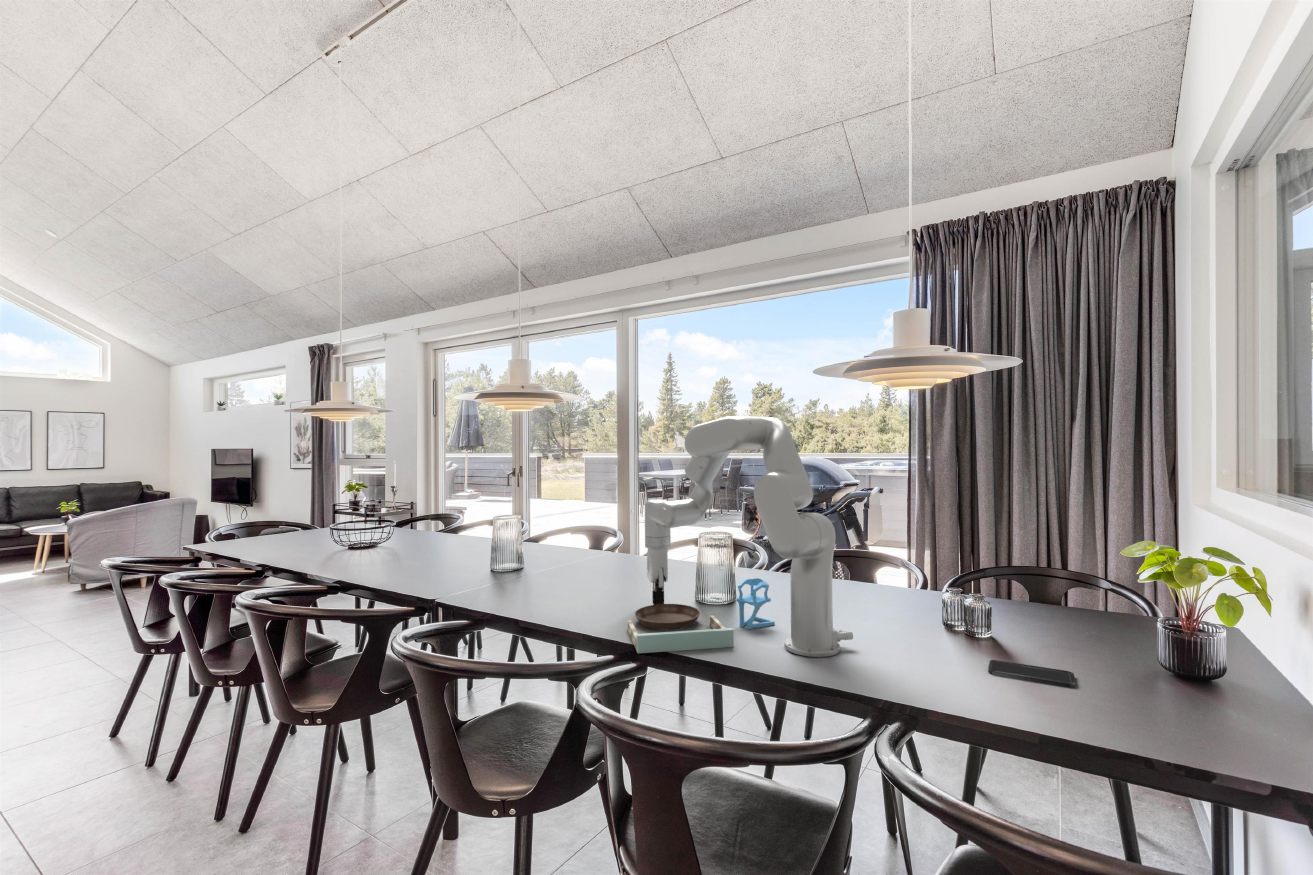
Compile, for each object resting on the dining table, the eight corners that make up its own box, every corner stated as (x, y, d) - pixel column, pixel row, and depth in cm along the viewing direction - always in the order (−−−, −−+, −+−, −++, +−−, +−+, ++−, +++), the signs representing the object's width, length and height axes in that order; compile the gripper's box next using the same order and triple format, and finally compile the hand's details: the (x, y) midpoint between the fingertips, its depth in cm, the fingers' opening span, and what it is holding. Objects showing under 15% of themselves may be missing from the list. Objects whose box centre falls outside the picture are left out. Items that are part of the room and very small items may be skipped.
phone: (1075, 684, 119) (987, 670, 127) (1075, 690, 119) (987, 675, 127) (1073, 671, 125) (990, 658, 133) (1073, 677, 125) (990, 663, 133)
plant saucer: (664, 637, 153) (664, 625, 153) (621, 622, 167) (621, 611, 167) (713, 623, 165) (713, 612, 165) (670, 610, 178) (670, 600, 178)
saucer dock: (627, 630, 159) (627, 614, 159) (713, 624, 163) (713, 609, 163) (637, 653, 141) (637, 635, 141) (733, 646, 145) (733, 629, 145)
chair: (732, 625, 163) (731, 579, 163) (752, 618, 168) (751, 575, 168) (755, 631, 157) (754, 584, 157) (775, 624, 163) (774, 579, 163)
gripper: (641, 538, 187) (642, 598, 187) (649, 546, 172) (649, 611, 172) (665, 537, 188) (666, 597, 188) (675, 545, 173) (676, 610, 173)
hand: (658, 604), depth 180 cm, fingers closed
